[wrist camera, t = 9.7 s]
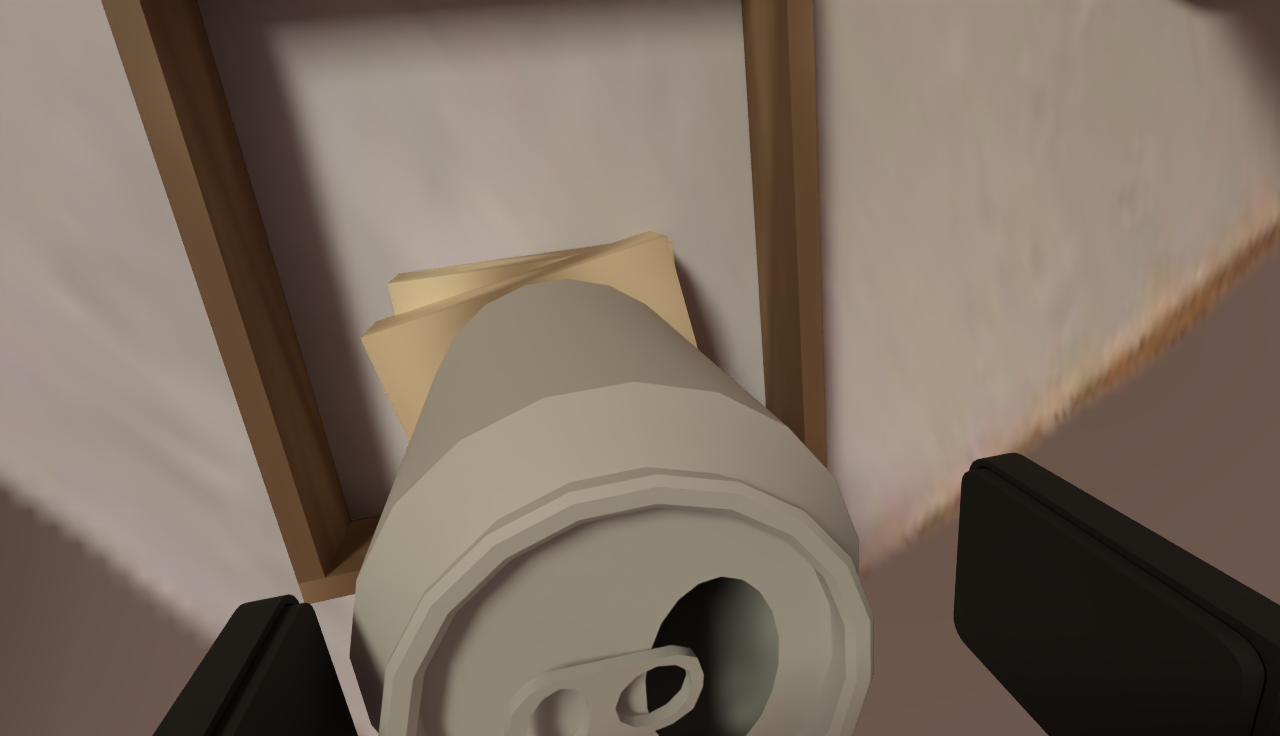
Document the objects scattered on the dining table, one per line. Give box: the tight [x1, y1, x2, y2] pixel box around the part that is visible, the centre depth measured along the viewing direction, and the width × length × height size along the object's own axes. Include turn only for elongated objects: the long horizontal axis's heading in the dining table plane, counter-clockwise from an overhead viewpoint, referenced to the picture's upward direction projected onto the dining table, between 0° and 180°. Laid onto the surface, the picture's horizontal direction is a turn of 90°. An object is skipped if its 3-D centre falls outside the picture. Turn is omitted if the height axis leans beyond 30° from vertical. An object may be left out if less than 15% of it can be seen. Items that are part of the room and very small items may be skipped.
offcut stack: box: [360, 231, 698, 442], centre depth 21 cm, size 10×9×4 cm
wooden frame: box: [101, 0, 827, 604], centre depth 20 cm, size 18×20×4 cm
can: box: [350, 279, 874, 736], centre depth 13 cm, size 8×8×12 cm
